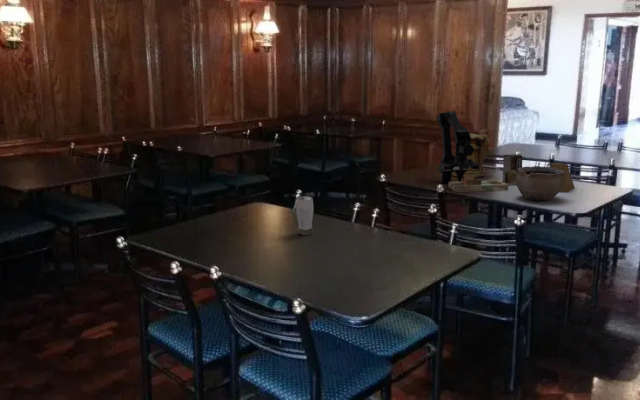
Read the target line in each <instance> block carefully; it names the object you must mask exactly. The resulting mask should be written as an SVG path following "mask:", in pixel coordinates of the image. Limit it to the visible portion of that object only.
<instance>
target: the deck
mask: <svg viewBox="0 0 640 400" xmlns="http://www.w3.org/2000/svg"><path fill="white" fill-rule="evenodd" d="M447 185H448V188H449V189H450V190H452V191H454V192H455V193H475V192H476V193H477V192H479V191H481V192H500V191H501V192H503V190H508V191H509V185H508V184H506V183H504V182H503V180H500V179H483V180H481V179H477V178H476V177H474V180H468V184H467V185H464V184H462V183H461V182H459V181H458V180H457V181H453V180H452V182H449V183H447Z"/></svg>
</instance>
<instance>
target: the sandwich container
mask: <svg viewBox="0 0 640 400" xmlns="http://www.w3.org/2000/svg"><path fill="white" fill-rule="evenodd" d="M550 168H555V169H559V170H563V171H565V173H564V175H563V187H562V189H561V191H560V192H559V193H567V192H568V193H569V192H570V191H571V190H573V189H575V188H576V187H575V184H574V182H573V178H572V176H571V171H570V167H569V165H568V164H567V163H558V162H557V163H556V162H551V163H550Z"/></svg>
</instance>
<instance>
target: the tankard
mask: <svg viewBox="0 0 640 400" xmlns="http://www.w3.org/2000/svg"><path fill="white" fill-rule="evenodd" d="M469 134H470V136H471V139H472V140H471V143H470V145H472V146H473V148H474V152H473V154H472V155H470V156H467V160H469V159H472V160H473V162H476V163H478V164H479V169H473V168H472V167H469V169H468V171H466V172H465V173H464V175H463V176H465V175H471V176H473V177H476V179H479V178H482V177H484V176H485V168H484V162H485V161H486V158H487V157H488V155H489V153H490V148H491V145H490V144H491V143H490V140H489V137H488V135H481V134H476V133H470V132H469ZM467 140H468V139H467ZM459 170H460V168H459ZM452 176H453V177H457V175H456V173H455V172H452Z"/></svg>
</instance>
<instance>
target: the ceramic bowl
mask: <svg viewBox="0 0 640 400" xmlns="http://www.w3.org/2000/svg"><path fill="white" fill-rule="evenodd" d="M518 173H519V174H518V176H517V180H516V184H517V185H516V187H517V189H518V191H519V192H520V194H521V195H522V196H523V197H524V198H525V199H528V200H531V201H539V202H540V201H541V202H543V201H549V200H551V199H553V198H554V197H556V196H558V194H559V193H561V192H560V191H561V189H562V187H563V175H564V173H565V171H563V170H559V169H555V168H551V167H548V166H546V167H545V166H522V167H521V168H518Z"/></svg>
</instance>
